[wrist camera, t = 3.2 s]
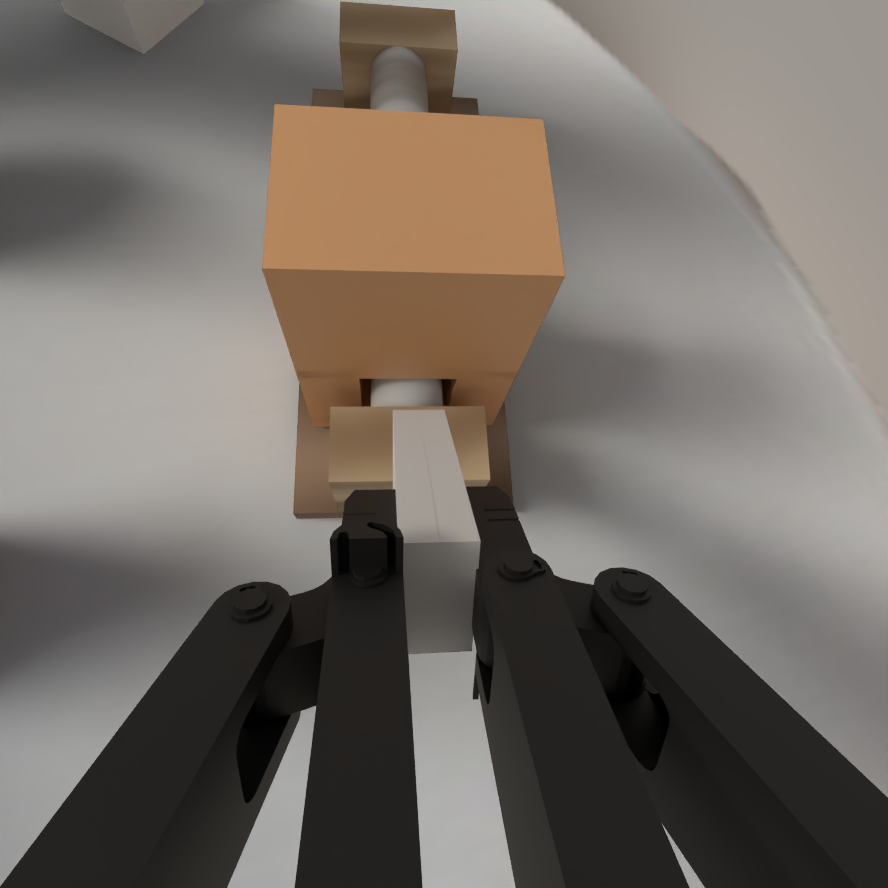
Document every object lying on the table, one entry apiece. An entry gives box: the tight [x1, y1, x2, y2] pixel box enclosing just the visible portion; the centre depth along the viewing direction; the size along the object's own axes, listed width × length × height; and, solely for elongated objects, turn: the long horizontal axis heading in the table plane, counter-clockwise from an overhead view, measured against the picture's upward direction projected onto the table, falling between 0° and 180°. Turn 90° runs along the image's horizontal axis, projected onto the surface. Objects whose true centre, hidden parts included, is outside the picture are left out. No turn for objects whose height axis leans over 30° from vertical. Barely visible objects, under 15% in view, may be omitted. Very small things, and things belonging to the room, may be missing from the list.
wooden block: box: [262, 104, 565, 427], centre depth 22 cm, size 6×8×12 cm
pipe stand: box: [293, 2, 513, 518], centre depth 28 cm, size 26×10×6 cm, turn 3°
